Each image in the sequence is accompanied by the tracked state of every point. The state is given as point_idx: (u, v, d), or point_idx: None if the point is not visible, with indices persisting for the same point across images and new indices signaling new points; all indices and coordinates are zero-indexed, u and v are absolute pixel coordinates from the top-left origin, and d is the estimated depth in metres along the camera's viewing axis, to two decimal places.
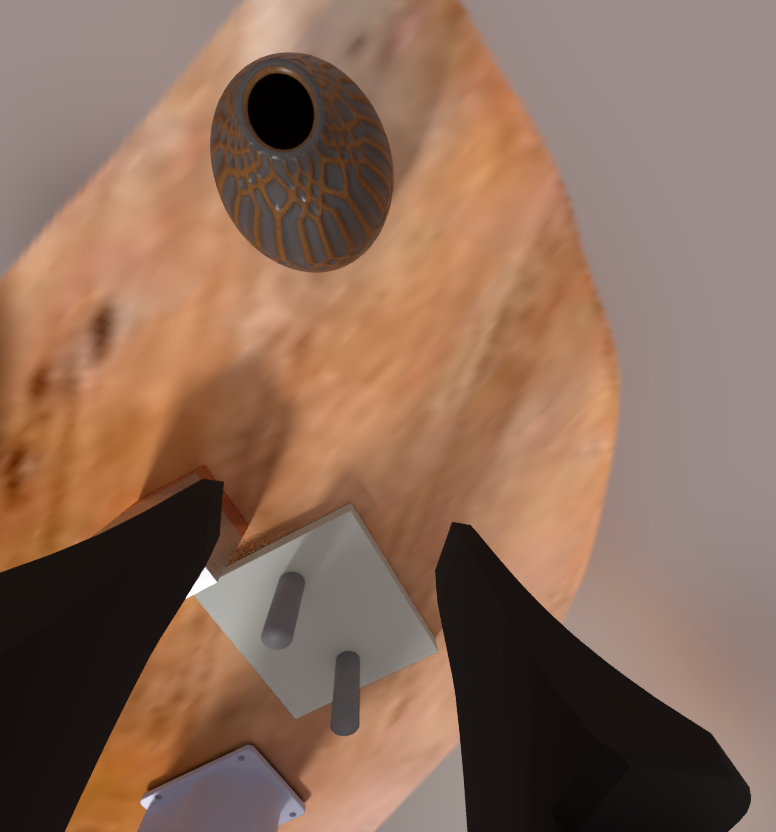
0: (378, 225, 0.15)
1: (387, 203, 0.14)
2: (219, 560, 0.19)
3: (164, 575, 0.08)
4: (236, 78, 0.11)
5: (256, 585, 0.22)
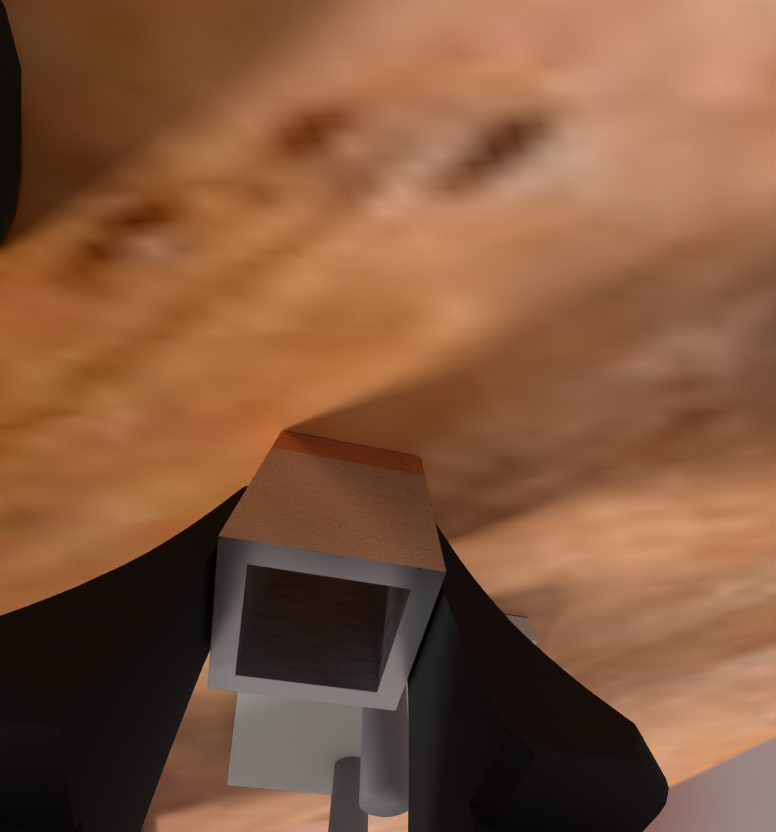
0: None
1: None
2: None
3: None
4: None
5: None
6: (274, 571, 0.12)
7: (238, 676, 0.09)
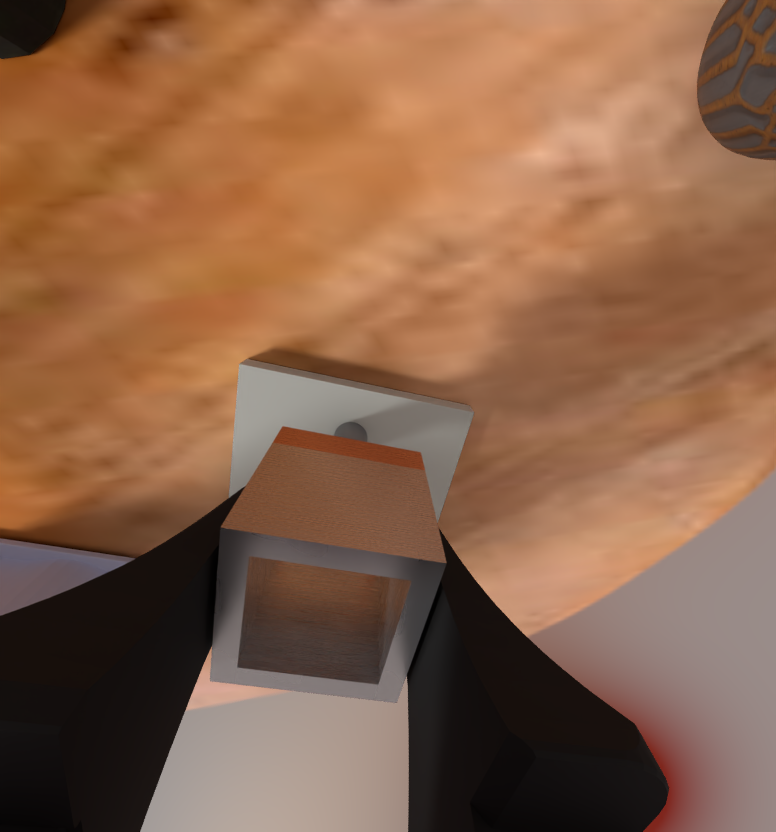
0: None
1: None
2: None
3: None
4: None
5: (314, 412, 0.17)
6: (275, 566, 0.12)
7: (240, 668, 0.09)
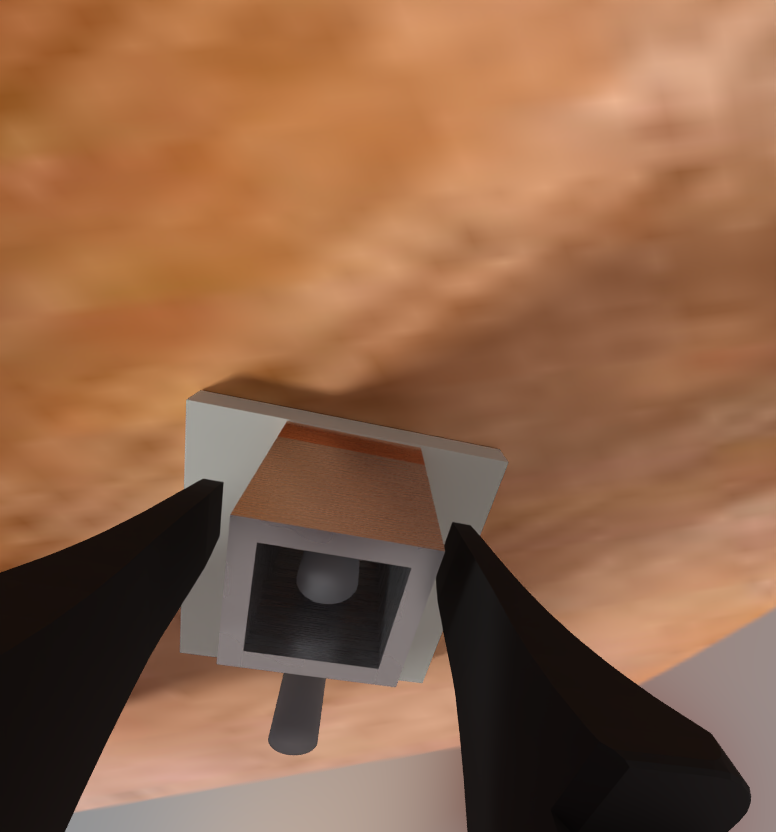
0: None
1: None
2: None
3: (164, 575, 0.08)
4: None
5: None
6: (279, 556, 0.12)
7: (246, 652, 0.09)
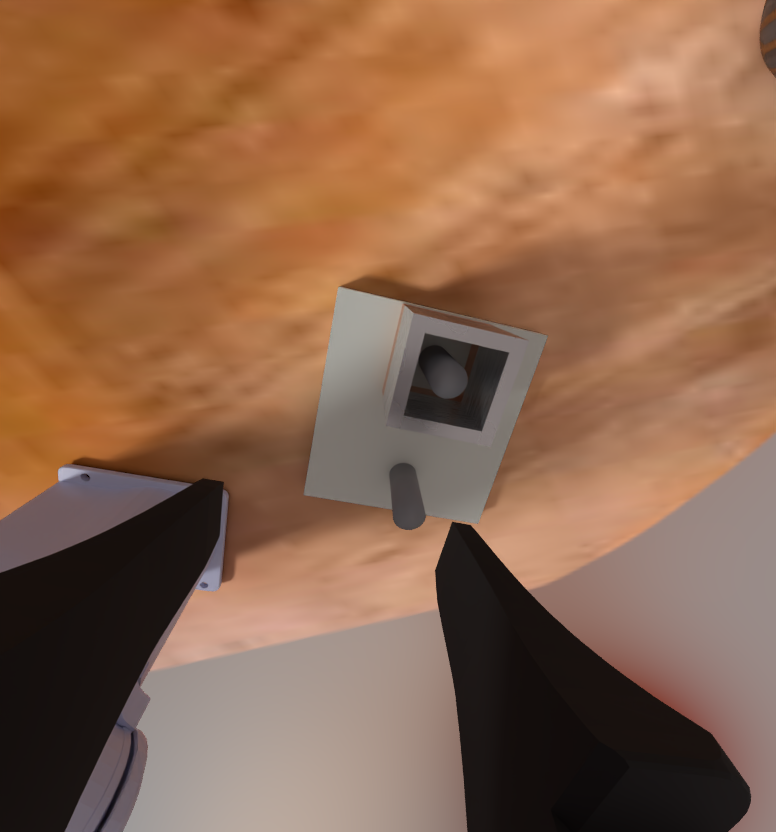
0: None
1: None
2: None
3: (164, 575, 0.08)
4: None
5: None
6: None
7: (404, 417, 0.15)
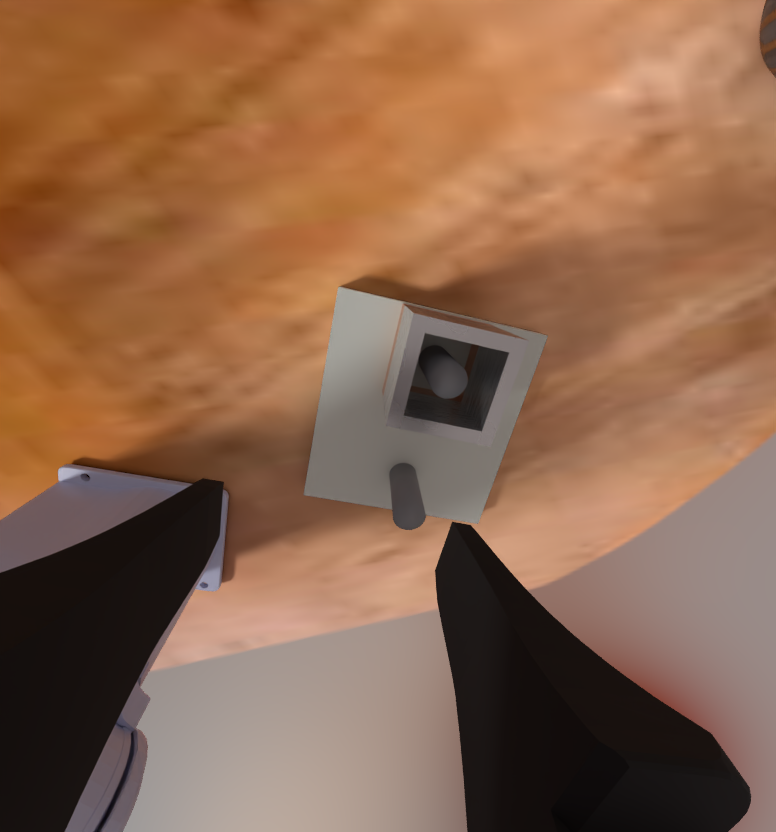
0: None
1: None
2: None
3: (164, 575, 0.08)
4: None
5: None
6: None
7: (404, 417, 0.15)
